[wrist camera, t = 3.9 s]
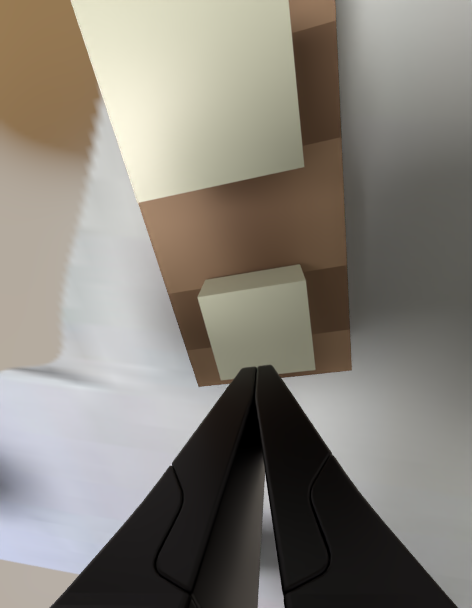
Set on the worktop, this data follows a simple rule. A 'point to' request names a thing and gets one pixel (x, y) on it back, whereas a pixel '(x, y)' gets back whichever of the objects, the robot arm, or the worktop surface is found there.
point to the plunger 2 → (259, 321)
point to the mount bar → (270, 215)
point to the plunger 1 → (196, 89)
